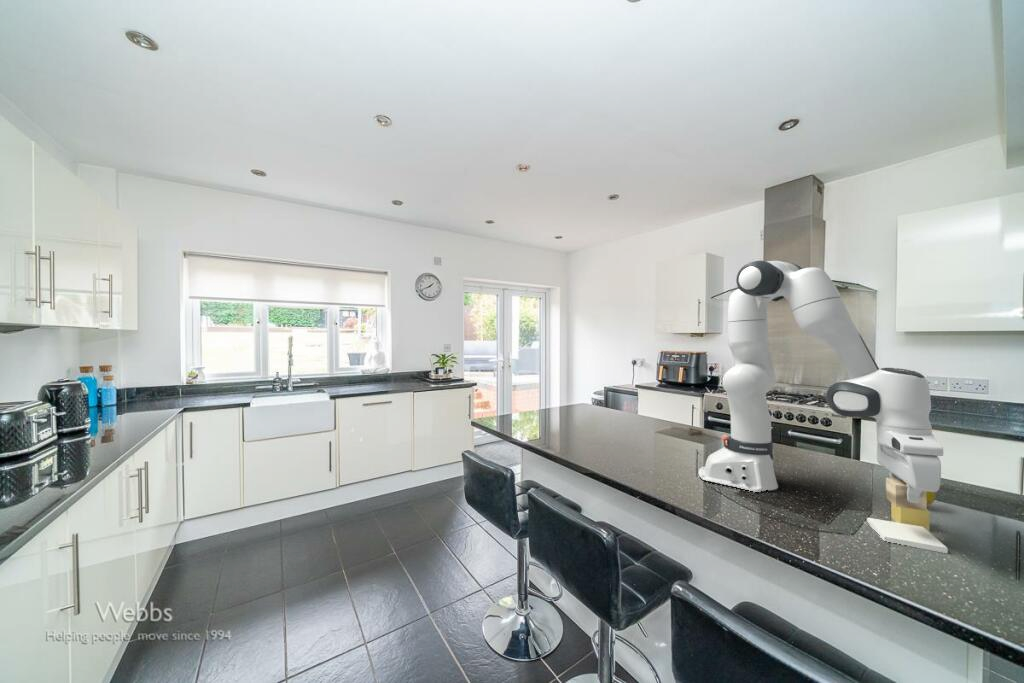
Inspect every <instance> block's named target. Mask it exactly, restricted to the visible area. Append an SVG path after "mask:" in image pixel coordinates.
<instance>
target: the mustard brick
mask: <svg viewBox="0 0 1024 683" xmlns="http://www.w3.org/2000/svg"><path fill="white" fill-rule="evenodd" d="M890 504H891V505H890V507H891V510H890V512H891V514H890V515H891V517H892V518H893V519H894V520H895V521H894V520H893V519H892V518H891V519H892V520H893V521H894V522H897V523H903V524H910V525H916V526H922V527H924V528H925V529H926V530H927V531H928V532H931V531H930V510H929V509H927V511H925V510H918V509H911V508H903V507H896V506H895V505H894V504H893V503H892V502H890Z"/></svg>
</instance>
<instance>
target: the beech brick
mask: <svg viewBox="0 0 1024 683" xmlns="http://www.w3.org/2000/svg"><path fill="white" fill-rule="evenodd" d="M907 488H908V487H907V486H906V482H904V481H903V480H901V479H894V478H890V477H885V493H886V495H885V496H886V499H887V501H888V502H890V503H891V502H892V503H893V504H894V505H895V506H896V507H903V508H911V509H918V510H925V511H927V510H928V508H927V507H928V505H927V500H926V491H922V492H921V494H920V496H919V503H910V502H909V501H908V500H906V498H905V492H907Z"/></svg>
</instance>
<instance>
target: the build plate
mask: <svg viewBox="0 0 1024 683" xmlns="http://www.w3.org/2000/svg"><path fill="white" fill-rule="evenodd" d="M867 522H868V523H869V524H870V525H869V524H868V523H867ZM866 523H867V524H868V525H869V526H870V528H872V529H874V530H875V531H876V532H877V533H878V534H879V535H880V536H879V535H878V534H877V533H876V532H875V531H874V530H873V531H874V532H875V533H876V534H877V535H878V536H879V537H880V539H881V538H882V539H883V540H884V541H887V542H886V543H888V542H891V543H890V544H893V543H897V544H896V545H899V544H901V546H904V545H907V546H906V547H910V546H911V547H910V548H915V547H916V548H915V549H921V550H925V551H926V550H927V551H932V552H938V553H943V554H948V551H949V550H948V547H947V546H946V545H945V544H943V542H941V541H940V540H939V538H937V537H935V536H934V535H933V534H932V533H931V531H927V530H926V529H925V528H924V527H922V526H916V525H910V524H903V523H897V522H895V521H891V520H885V519H877V518H872V517H866ZM882 539H881V540H882ZM883 540H882V541H883ZM884 541H883V542H884Z"/></svg>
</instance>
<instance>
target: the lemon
mask: <svg viewBox="0 0 1024 683" xmlns="http://www.w3.org/2000/svg"><path fill="white" fill-rule="evenodd" d="M935 499H936V492H929V491H926V500H927V506H930V505H932V504H933V503H934V502H935Z"/></svg>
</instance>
